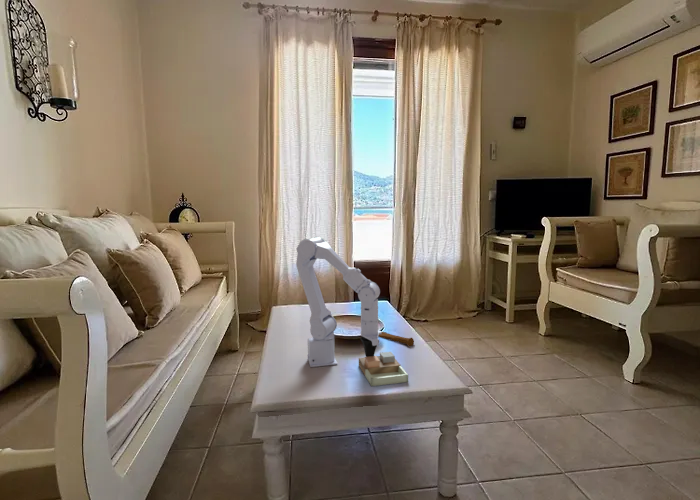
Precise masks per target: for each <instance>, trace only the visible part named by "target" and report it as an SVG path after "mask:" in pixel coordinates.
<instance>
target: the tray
mask: <svg viewBox="0 0 700 500" xmlns="http://www.w3.org/2000/svg"><path fill="white" fill-rule="evenodd" d="M364 376H365V378H366V380H367V382H368V383H369V385H370V387H379V386H386V385H395V384H402V383H403V384H404V383H409V374H408V373H407V372H406V370H405V368H404V367H402V365H401V366H399V372H391V373H382V374H373V375H371V374H370V372H369V371H368V369H365V375H364Z"/></svg>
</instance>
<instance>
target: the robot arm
mask: <svg viewBox="0 0 700 500" xmlns="http://www.w3.org/2000/svg"><path fill="white" fill-rule="evenodd" d="M296 253H297V254H296V255H297V256H296V262H295V263H296V268H297V272H298V274H299V278H300V281H301V284H302V287H303V291H304V295H305V298H306V300H307V303H308V307H309V309H310V317H309V325H310V329H309V330H310V335H311V336H312V337H309V338H307V360H308V363H309V367H310V368H316V367H327V366H335V365H338V361H337V359H336V357H335V332H334V331H336V329H337V327H338V323H337V320H336V318H334V316H333V314H332V312H331V311H330V310H329V308H327V306H326V303H325V300H324V296H323V293H322V291H321V288H320V287H321V286H320V283H319V281H318V278H317V275H316V271H315V268H314V265H315V263H316V261H317V259H319V260H325V261H326V262H327V263H329V265H331V266H333V267H334V269H336V270H337V271H338V272H339V273H341V275H342V280H343V281H344V282H345V283H346V284H347V285H348V286H349V287H350V288H351V289H352V290H353V291H354V292H355V293H357V297H358V300H359V301H360V336H361V337H359V338H360V341H361V343H362V346H363V349H364V350H363V351H364V355H365V357H370V356H375V353H376V350H377V349H376V348H377V346H379V345H380V339H379V337H378V336H379V334H382V332H383V331H381V330H379V299H378V298H379V297H380V294H381V289H380V287H379V285H378V284H377V282H374V281H372V280H371V279H368V278H367V277H366V276H365V275H364V274H363V273H362V270H361V269H359V268H357V267H351V266H349V265H348V264H347V263H346V261H345V260H343V258H342V257H341V256H340V255H339V254H338V253H337V252H336V251H335V250H334V249H333V248H332V247H331V244H330V243H329V242H327V241H325V239H324V238H322V237H321V236H315V237H311V238H305V239H303V240H301V241H300V242H299V244H298V245H297V247H296Z"/></svg>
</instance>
